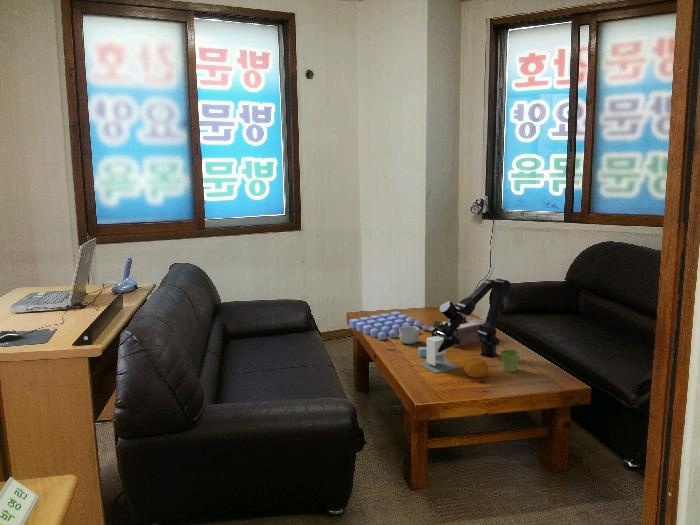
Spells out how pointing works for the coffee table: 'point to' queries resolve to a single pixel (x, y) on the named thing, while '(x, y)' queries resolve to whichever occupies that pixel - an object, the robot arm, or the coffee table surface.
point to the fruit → (476, 368)
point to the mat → (439, 366)
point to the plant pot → (510, 359)
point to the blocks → (384, 324)
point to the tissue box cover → (468, 331)
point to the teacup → (409, 334)
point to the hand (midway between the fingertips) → (433, 350)
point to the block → (422, 351)
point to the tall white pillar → (435, 350)
